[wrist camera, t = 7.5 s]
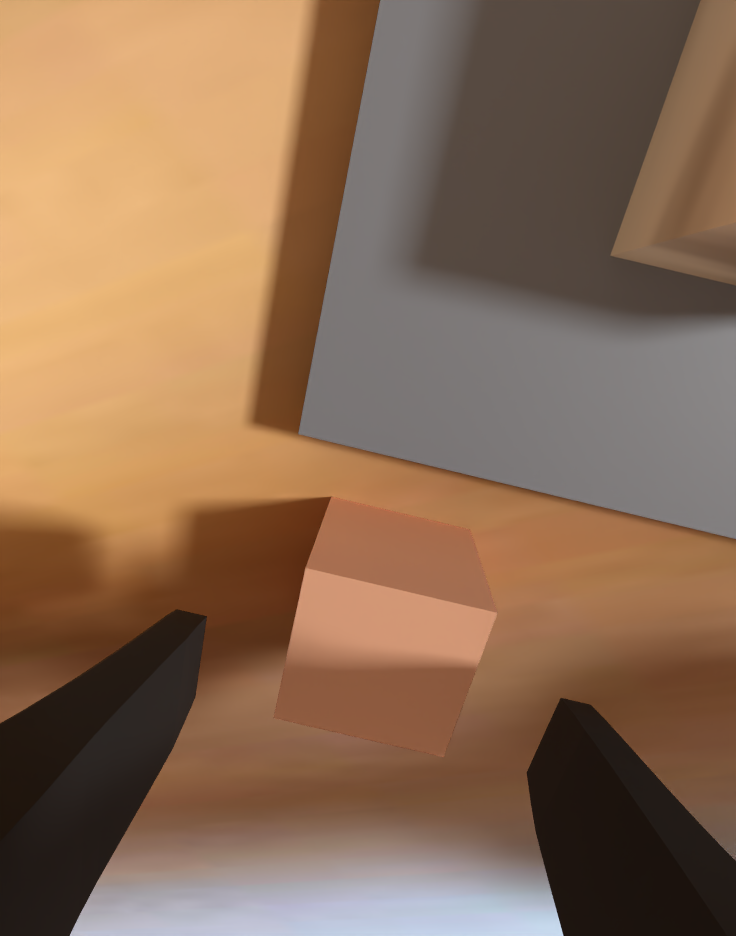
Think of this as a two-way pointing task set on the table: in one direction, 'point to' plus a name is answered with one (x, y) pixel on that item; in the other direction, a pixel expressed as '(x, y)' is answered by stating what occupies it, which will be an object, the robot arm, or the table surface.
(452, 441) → the base board
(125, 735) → the robot arm
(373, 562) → the terracotta cube
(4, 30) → the table surface
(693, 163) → the birch block
